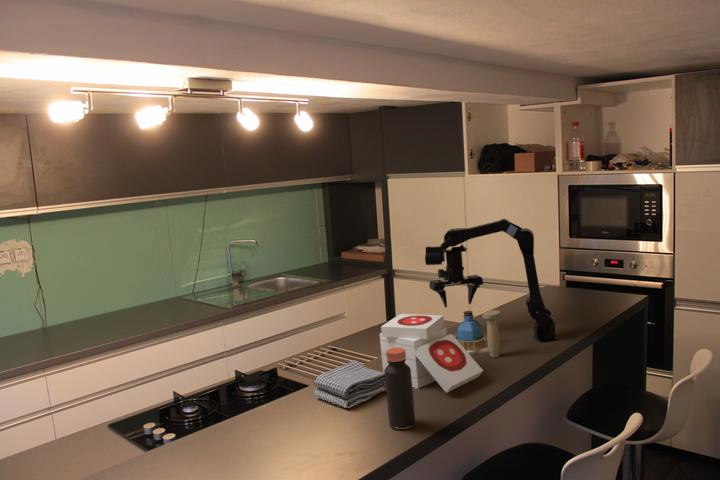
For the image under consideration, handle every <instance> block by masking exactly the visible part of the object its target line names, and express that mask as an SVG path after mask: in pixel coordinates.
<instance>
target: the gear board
mask: <svg viewBox="0 0 720 480" xmlns="http://www.w3.org/2000/svg"><path fill="white" fill-rule="evenodd" d="M452 335H453V336H454V338H455V339H456V340H457V341H458V342H459V343H460V344H461V346H462V347H463V348H464V349H465V350H466V351H467V352H468V354H469V355H470V356H472V355H478V354H485V353H489V350H488V342H487V333H482V338H481V339H480V340H475V341H461V340H458V334H457V333H456V334H452Z"/></svg>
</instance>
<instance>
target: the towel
mask: <svg viewBox="0 0 720 480" xmlns="http://www.w3.org/2000/svg"><path fill="white" fill-rule="evenodd" d="M313 385H314V387H315V388H316V389H315V391H314V395H315V396H316V397H318V398H319V399H321V400H323V401H325V400H326V401H325V402H327V401H328V403H330V402H331V404H333V405H335V404H337V405H336V406H338V405H339V406H338V407H340V406H342V407H344V408H343V409H345V408H348V407H350V406H351V405H355V404H358V403H360V404H362V403H364V402H366V401H368V400H369V399H370V400H371V399H372V398H373V396H374V395H375V396H377V395H376V394H378V393H379V392H381V391H382V390H383V389H384V388H386V383H385V373H383V371H382V372H381V371H379V370H377V369H376V370H375V369H373V368H368V367H366V366H365V365H364V364H362V363H361V362H360V361H358V360H357V359H354V360H352V361H349V362H348V363H345V364H343V365H341V366H337V367H336V368H333V369H330V370H329V371H326V372H323V373H321V374H319V375H318V376H317V378H316V379H315V380H314V381H313ZM384 390H385V389H384ZM378 395H379V394H378ZM375 396H374V397H375ZM371 397H372V398H371ZM361 402H362V403H361ZM342 407H341V408H342Z"/></svg>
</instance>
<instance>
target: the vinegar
mask: <svg viewBox="0 0 720 480" xmlns="http://www.w3.org/2000/svg"><path fill="white" fill-rule="evenodd" d="M386 355H387V362H388V363H389V365H388V366H387V367H386V368H385V371H384V373H385V383H386V391H385V392H386V404H387V411H388V425H389V426H390V425H391V426H393V427H398V428H406V427H410V426H413V425H414V424H415V425H416V415H415V414H416V412H415V403H414V401H415V400H414V394H413V393H414V391H413V388H412V378H411V369H410V367H409V366H408V365H407V364H406V363H405V361H406V353H405V349H403V348H391V349H388V350H387V351H386ZM415 425H414V426H415ZM391 426H390V427H391ZM414 426H413V427H414Z"/></svg>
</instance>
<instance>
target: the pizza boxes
mask: <svg viewBox="0 0 720 480" xmlns="http://www.w3.org/2000/svg"><path fill="white" fill-rule="evenodd" d="M444 319H445V318H444V315H442V314H416V313H414V314H413V313H411V314H410V313H400V314H398V315H396V316H395V317H393V318H391V320H388V322H386V323H385V324H382V326H381V329H380V330H381V333H379V341H380V353H381V354H380V355H381V363H382V364H381V365H382V372H383V373H384V371H385V368H386V367H387V366H388V365H389V363H388V362H387V355H386V351H387V350H388V349H391V348H403V349H405V353H406V361H405V363H406V364H407V365H408V366H409V367H410V369H411V378H412V387H415V388H414V389H416V388H420V387H422V388H423V386H424V387H426V386H428V385H430V384H432V383H431V382H433V383H434V381H435V382H437V384H438V385H439V386H440V387H441V388H442V389H443V391H444V392H445V394H446V393H449V392H451V391H453V390H455V389H457V388H459V387H461V386H463V385H465V384H467V383H469V382H471V381H473V380H475V379H477V378H479V377H480V376H481V375H482V373H483V372H484V369H482V367H481V366H480V365H479V364H478V363H477V362H476V360H475V359H474V357H472V355H469V354H468V352H467V351H466V350H465V349H464V348H463V347H462V346H461V344H460V343H459V342H458V341H457V340H456V339H455V338H454V336H453V335H454V334H452V333H450V334H448V329H447V328H446V327H444V326H445V321H444ZM429 383H430V384H429ZM427 384H428V385H427ZM425 385H426V386H425ZM420 389H421V388H420Z"/></svg>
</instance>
